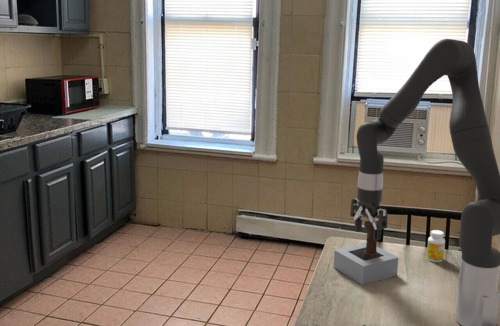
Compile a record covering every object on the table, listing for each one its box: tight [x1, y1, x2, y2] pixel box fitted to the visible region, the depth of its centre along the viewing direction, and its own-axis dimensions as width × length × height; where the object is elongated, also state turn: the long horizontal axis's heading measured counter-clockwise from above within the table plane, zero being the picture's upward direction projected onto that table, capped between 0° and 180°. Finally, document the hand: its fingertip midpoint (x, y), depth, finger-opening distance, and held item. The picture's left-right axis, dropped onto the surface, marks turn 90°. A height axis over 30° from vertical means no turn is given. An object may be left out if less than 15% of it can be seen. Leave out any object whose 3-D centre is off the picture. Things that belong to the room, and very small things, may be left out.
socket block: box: [333, 242, 399, 286], centre depth 167 cm, size 14×14×6 cm
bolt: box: [363, 219, 378, 261], centre depth 165 cm, size 6×5×15 cm
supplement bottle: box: [426, 229, 446, 263], centre depth 176 cm, size 5×5×10 cm
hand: (367, 235), depth 165 cm, fingers open, 8 cm apart
